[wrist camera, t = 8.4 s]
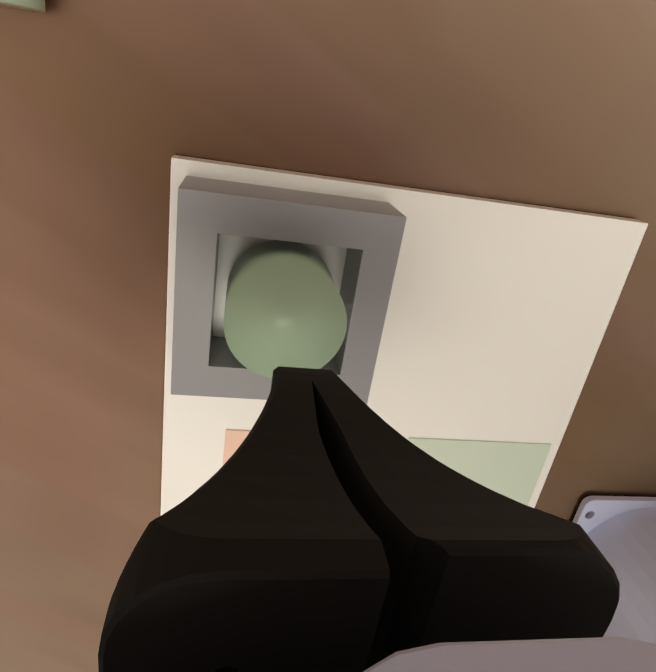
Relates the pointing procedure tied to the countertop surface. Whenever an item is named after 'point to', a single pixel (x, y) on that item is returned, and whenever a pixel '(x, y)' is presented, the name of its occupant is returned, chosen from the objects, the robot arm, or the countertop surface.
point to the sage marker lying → (25, 5)
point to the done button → (283, 309)
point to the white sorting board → (395, 315)
